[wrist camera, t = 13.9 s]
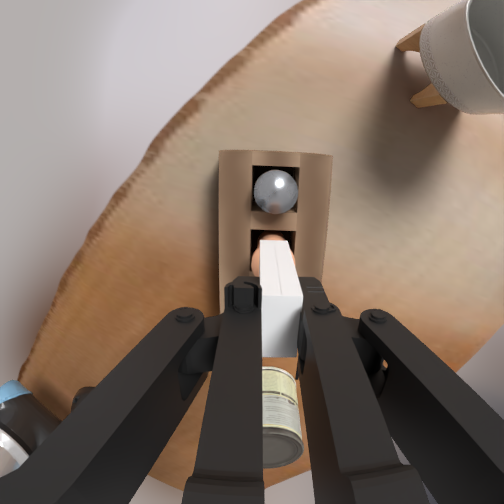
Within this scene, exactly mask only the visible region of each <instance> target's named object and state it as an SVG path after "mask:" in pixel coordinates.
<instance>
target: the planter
mask: <svg viewBox="0 0 504 504" xmlns="http://www.w3.org/2000/svg"><path fill="white" fill-rule="evenodd" d="M396 47H397V48H398V49H399V50H401V51H402V52H404V51H416V52H420V55H421V60H422V63H423V66H424V68H425V71H426V73H427V75H428V77H429V79H430V81H431V84H430V85H429V86H427V87H426V88H425V89H424V90H422V91H421V92H419V93H417V94H415V95H413V97H412V98H411V100H410V102H411V103H413V104H414V105H415V106H416V107H417V108H421V107H427V106H433V105H440V104H447V103H449V104H451V105H452V106H453V107H455V108H456V109H458V110H460V111H462V112H465V113H468V114H476V115H477V114H504V0H461V1H460V2H458V3H456V4H455V5H453V6H451V7H450V8H448V9H446V10H445V11H443V12H441V13H440V14H438V15H437V16H435V17H433V18H432V19H430V20H429V21H428V22H427V23H426V24H423V25H422V26H420V27H419V28H417V29H416V30H414V31H412V32H411V33H409V34H408V35H406V36H405V37H403V38H402V39H401V40H399V42H398V43H397V45H396Z"/></svg>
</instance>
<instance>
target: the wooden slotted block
mask: <svg viewBox="0 0 504 504" xmlns="http://www.w3.org/2000/svg"><path fill="white" fill-rule="evenodd" d="M332 161H333V156H331V155H325V154H315V153H301V152H283V151H258V150H221V151H219V292H220V314H222V313H223V312H224V309H225V302H224V287H225V286H226V284H228V283H230V282H233V280H234V279H235V278H236V277H238V276H253V277H255V275H254V274H253V271H252V267H251V263H252V256H253V254H251V243H252V229H258V230H285V231H290V245H289V248H290V249H291V251H292V252H293V255H294V258H295V269H296V272H297V276H298V277H315V278H316V279H318V280H319V281H320V282H322V273H323V265H324V256H325V247H326V237H327V227H328V216H329V204H330V191H331V177H332ZM254 165H263V166H286V167H294V175H293V179H294V180H295V182H296V184H297V187H298V197H297V200H296V203H295V204H294V206H293V207H292V208H291V209H290V210H288V211H286V212H284V213H281V214H271V213H268V212H266V211H264V210H262V209H261V208H260V207H259V206H258V204H257V203H256V202H253V169H254Z"/></svg>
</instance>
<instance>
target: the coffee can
mask: <svg viewBox="0 0 504 504" xmlns="http://www.w3.org/2000/svg"><path fill="white" fill-rule="evenodd" d="M262 398H263V468H277V467H282V466H285V465H288V464H290V463H293V462H294V461H296V460H297V459H299V458H300V457H301V455H302V454H303V451H304V446H303V442H302V435H301V427H300V418H299V410H298V401H297V394H296V383H295V380H294V378H293V376H292V375H291V374H289V373H288V372H287V371H285V370H283V369H280V368H277V367H267V366H266V367H262Z"/></svg>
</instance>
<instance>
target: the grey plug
mask: <svg viewBox="0 0 504 504" xmlns="http://www.w3.org/2000/svg"><path fill="white" fill-rule="evenodd" d="M297 197H298V187H297V184H296V182H295V180H294V179H293V178H292V177H291V176H290V175H289V174H288V173H286V172H284V171H281V170H269V171H267V172H265V173H263V174H262V175H261V176H260V177H259V178H258V179H257V181H256V183H255V187H254V198H255V201H256V203H257V204H258V206H259V207H260V208H261V209H262V210H264V211H266V212H268V213H271V214H281V213H284V212H286V211H288V210H290V209H291V208H292V207H293V206H294V204H295V203H296V200H297Z"/></svg>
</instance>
